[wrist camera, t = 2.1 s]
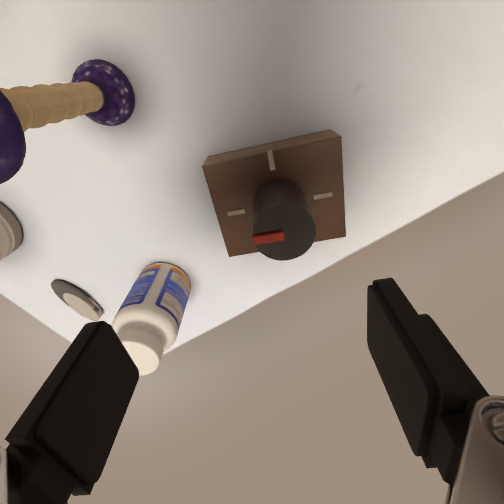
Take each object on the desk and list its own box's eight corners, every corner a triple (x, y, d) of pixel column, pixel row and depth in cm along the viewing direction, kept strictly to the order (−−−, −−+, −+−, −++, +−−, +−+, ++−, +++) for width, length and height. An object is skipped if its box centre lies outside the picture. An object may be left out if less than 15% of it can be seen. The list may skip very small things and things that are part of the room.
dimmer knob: (301, 173, 21) (314, 199, 16) (307, 222, 23) (319, 257, 18) (247, 184, 21) (246, 213, 17) (258, 231, 23) (259, 267, 19)
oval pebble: (50, 283, 31) (42, 289, 30) (62, 272, 30) (55, 278, 29) (95, 319, 33) (90, 326, 32) (108, 309, 32) (103, 316, 31)
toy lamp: (148, 81, 21) (-90, 90, 6) (134, 143, 23) (-68, 251, 9) (79, 47, 20) (-387, -34, 5) (71, 115, 22) (-274, 185, 8)
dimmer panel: (331, 127, 22) (341, 134, 19) (337, 222, 26) (346, 238, 24) (207, 155, 23) (201, 165, 21) (231, 241, 27) (229, 259, 25)
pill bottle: (139, 297, 31) (97, 377, 23) (139, 256, 28) (92, 330, 20) (189, 305, 32) (165, 386, 23) (194, 266, 29) (169, 341, 21)
